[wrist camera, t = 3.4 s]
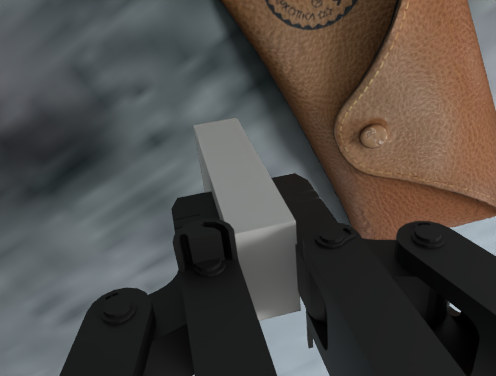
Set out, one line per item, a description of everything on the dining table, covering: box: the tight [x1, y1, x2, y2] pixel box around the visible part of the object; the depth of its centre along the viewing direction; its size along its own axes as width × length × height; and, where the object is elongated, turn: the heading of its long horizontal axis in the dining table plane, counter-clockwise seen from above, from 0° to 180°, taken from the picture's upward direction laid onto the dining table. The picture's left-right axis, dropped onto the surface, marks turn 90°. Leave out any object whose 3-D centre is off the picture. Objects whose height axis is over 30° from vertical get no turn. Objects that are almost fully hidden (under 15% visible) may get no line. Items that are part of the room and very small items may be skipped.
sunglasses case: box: [220, 0, 496, 240], centre depth 20 cm, size 18×7×7 cm
